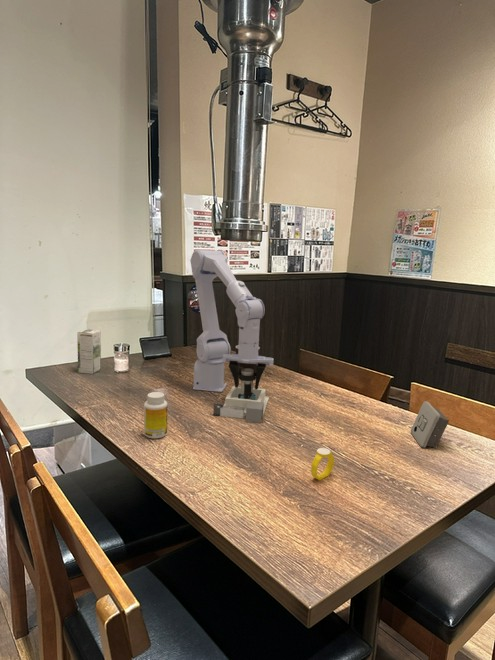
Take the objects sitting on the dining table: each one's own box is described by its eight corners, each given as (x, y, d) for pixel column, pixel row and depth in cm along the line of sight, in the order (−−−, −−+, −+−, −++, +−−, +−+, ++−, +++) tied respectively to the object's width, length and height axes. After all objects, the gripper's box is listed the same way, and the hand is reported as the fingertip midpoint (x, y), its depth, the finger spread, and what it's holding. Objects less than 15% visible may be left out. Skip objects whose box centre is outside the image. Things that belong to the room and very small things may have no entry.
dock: (216, 418, 117) (216, 404, 116) (230, 394, 135) (230, 383, 134) (260, 423, 115) (261, 409, 114) (268, 398, 133) (269, 386, 132)
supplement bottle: (170, 437, 104) (170, 397, 102) (147, 441, 102) (146, 399, 100) (163, 428, 109) (164, 389, 107) (141, 431, 107) (141, 392, 105)
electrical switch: (409, 432, 114) (417, 399, 112) (429, 435, 114) (437, 402, 112) (421, 449, 105) (430, 413, 103) (442, 452, 104) (451, 416, 102)
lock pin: (212, 415, 118) (212, 406, 118) (214, 412, 121) (214, 403, 120) (242, 419, 117) (243, 410, 116) (244, 415, 120) (244, 406, 119)
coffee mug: (258, 378, 152) (259, 350, 150) (234, 377, 152) (235, 349, 150) (258, 368, 164) (259, 343, 162) (235, 367, 164) (236, 342, 162)
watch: (318, 485, 87) (319, 459, 86) (307, 480, 89) (308, 454, 88) (336, 474, 91) (337, 448, 90) (325, 468, 93) (326, 443, 92)
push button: (255, 397, 131) (255, 366, 129) (263, 404, 126) (264, 371, 124) (235, 401, 128) (235, 368, 126) (242, 407, 124) (242, 374, 122)
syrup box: (86, 368, 155) (84, 328, 152) (101, 369, 154) (100, 329, 151) (77, 373, 149) (76, 331, 146) (93, 374, 148) (92, 333, 145)
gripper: (220, 342, 120) (219, 389, 123) (272, 347, 118) (269, 394, 121) (226, 337, 127) (224, 381, 130) (275, 341, 125) (272, 386, 128)
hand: (246, 387), depth 126 cm, fingers closed on push button, 5 cm apart
